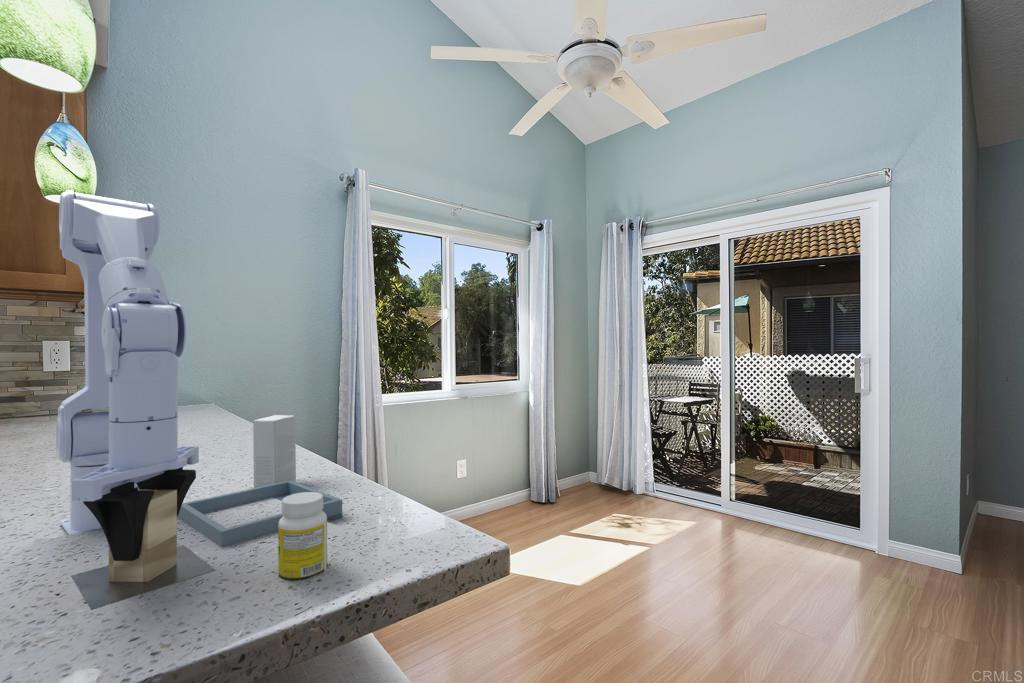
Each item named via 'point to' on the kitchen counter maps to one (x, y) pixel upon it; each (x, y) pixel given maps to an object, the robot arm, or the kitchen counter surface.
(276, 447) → the skincare box
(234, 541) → the bin
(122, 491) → the robot arm
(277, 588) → the kitchen counter surface
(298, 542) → the supplement bottle
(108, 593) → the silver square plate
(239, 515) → the kitchen counter surface
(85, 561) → the kitchen counter surface
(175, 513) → the strut
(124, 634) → the kitchen counter surface
